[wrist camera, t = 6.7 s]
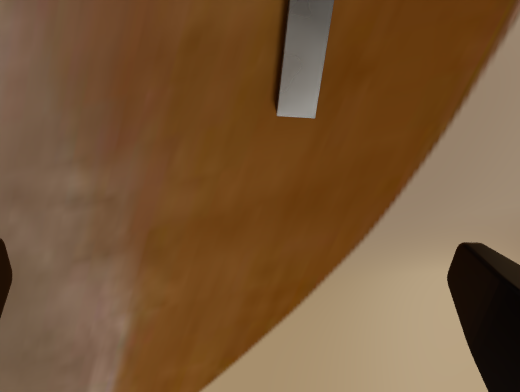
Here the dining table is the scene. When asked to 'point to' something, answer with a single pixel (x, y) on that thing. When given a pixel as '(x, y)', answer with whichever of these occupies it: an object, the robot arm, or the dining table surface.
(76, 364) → the dining table surface
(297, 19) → the rail
